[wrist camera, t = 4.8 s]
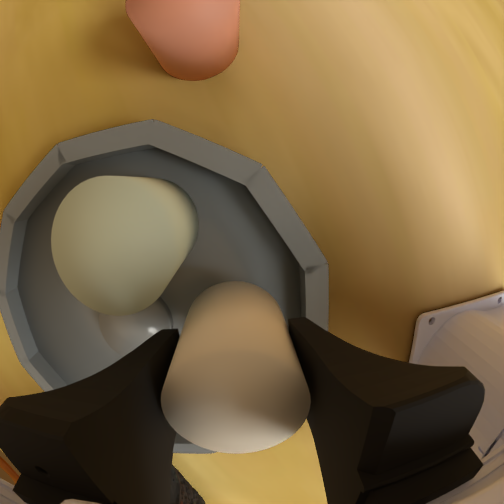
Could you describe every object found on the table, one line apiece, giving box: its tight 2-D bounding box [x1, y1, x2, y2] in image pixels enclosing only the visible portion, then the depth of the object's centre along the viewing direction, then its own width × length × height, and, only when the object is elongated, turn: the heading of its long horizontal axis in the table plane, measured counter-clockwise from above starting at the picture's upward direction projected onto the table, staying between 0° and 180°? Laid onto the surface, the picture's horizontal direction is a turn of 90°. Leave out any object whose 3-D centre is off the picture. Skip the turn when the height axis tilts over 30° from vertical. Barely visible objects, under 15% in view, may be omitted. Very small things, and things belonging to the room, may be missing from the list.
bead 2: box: [161, 281, 311, 453], centre depth 9 cm, size 4×4×5 cm
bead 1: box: [126, 0, 240, 81], centre depth 9 cm, size 4×4×5 cm
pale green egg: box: [51, 176, 199, 316], centre depth 10 cm, size 4×4×5 cm
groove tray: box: [0, 119, 329, 454], centre depth 13 cm, size 18×18×2 cm
